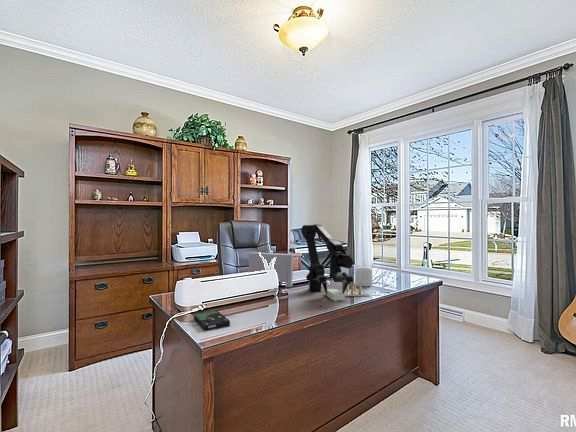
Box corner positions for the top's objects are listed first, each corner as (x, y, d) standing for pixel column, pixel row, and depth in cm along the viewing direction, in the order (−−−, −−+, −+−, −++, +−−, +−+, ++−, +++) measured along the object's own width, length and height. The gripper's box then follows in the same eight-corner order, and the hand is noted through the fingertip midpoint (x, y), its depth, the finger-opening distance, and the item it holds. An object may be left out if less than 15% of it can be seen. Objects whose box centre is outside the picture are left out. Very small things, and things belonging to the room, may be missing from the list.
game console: (290, 287, 181) (291, 255, 181) (248, 284, 186) (248, 253, 186) (292, 285, 186) (293, 253, 186) (251, 282, 192) (251, 252, 192)
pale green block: (333, 301, 154) (334, 294, 154) (325, 295, 166) (325, 289, 166) (344, 300, 155) (344, 294, 155) (335, 294, 167) (335, 288, 167)
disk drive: (230, 327, 116) (216, 316, 129) (230, 320, 116) (217, 309, 129) (204, 333, 111) (192, 320, 123) (204, 325, 111) (193, 313, 123)
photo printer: (371, 285, 190) (371, 266, 190) (372, 287, 186) (373, 267, 186) (355, 284, 191) (355, 265, 191) (356, 286, 187) (356, 266, 187)
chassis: (344, 296, 162) (345, 287, 162) (338, 291, 174) (338, 282, 174) (369, 296, 164) (369, 287, 164) (361, 290, 176) (361, 282, 176)
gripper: (321, 268, 151) (321, 298, 151) (357, 268, 154) (356, 298, 154) (317, 264, 162) (316, 293, 162) (350, 264, 165) (349, 292, 165)
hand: (334, 294), depth 160 cm, fingers open, 9 cm apart
